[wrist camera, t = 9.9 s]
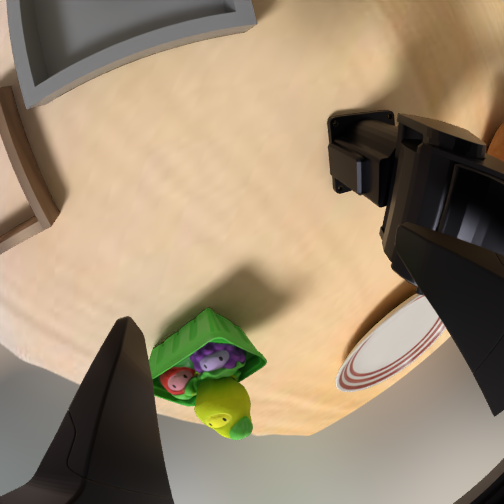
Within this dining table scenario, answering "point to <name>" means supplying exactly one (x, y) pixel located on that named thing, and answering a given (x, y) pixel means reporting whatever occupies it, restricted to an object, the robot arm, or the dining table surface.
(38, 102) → the tray
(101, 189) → the dining table surface
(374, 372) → the dinner plate
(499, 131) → the jug
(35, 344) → the dining table surface
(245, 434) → the fruit basket
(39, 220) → the lemon holder
